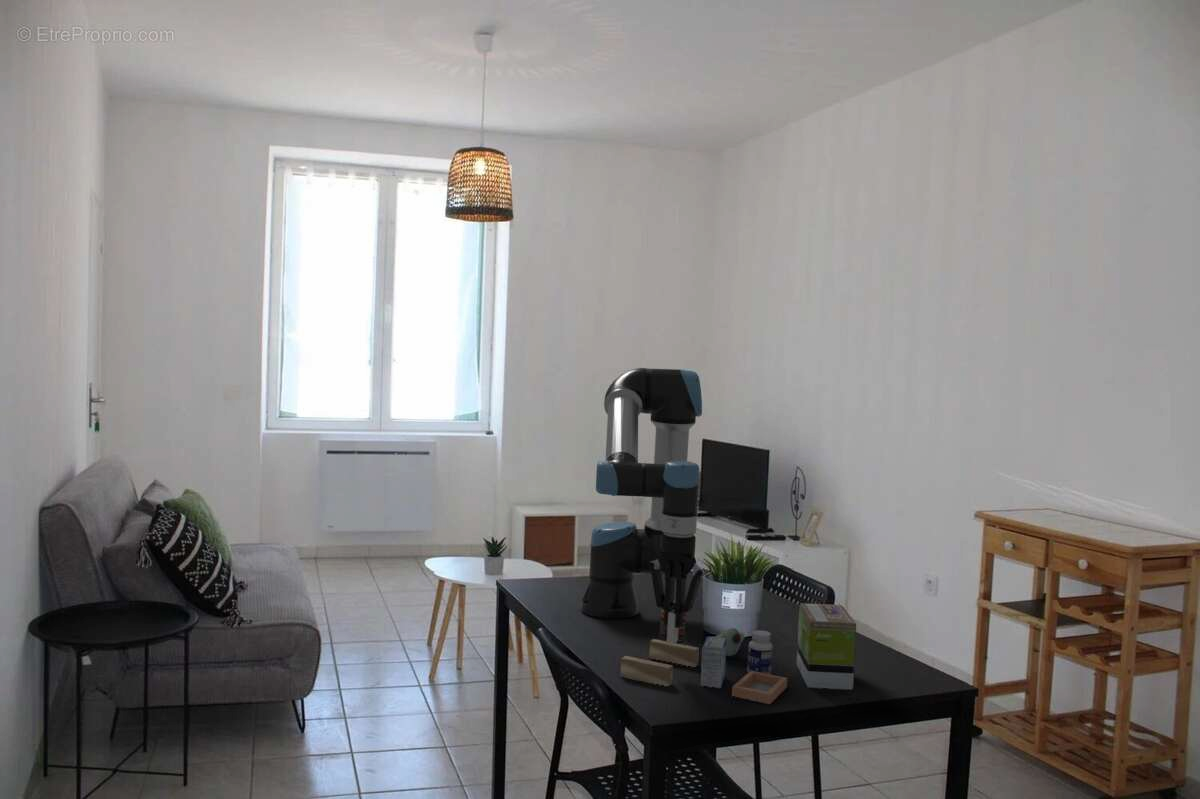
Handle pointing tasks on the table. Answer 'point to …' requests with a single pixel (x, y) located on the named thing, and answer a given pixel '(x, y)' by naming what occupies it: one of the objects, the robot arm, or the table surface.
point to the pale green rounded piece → (732, 640)
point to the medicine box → (713, 662)
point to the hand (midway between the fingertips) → (672, 641)
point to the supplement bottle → (664, 628)
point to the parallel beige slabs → (659, 671)
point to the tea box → (826, 646)
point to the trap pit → (759, 687)
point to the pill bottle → (760, 652)
